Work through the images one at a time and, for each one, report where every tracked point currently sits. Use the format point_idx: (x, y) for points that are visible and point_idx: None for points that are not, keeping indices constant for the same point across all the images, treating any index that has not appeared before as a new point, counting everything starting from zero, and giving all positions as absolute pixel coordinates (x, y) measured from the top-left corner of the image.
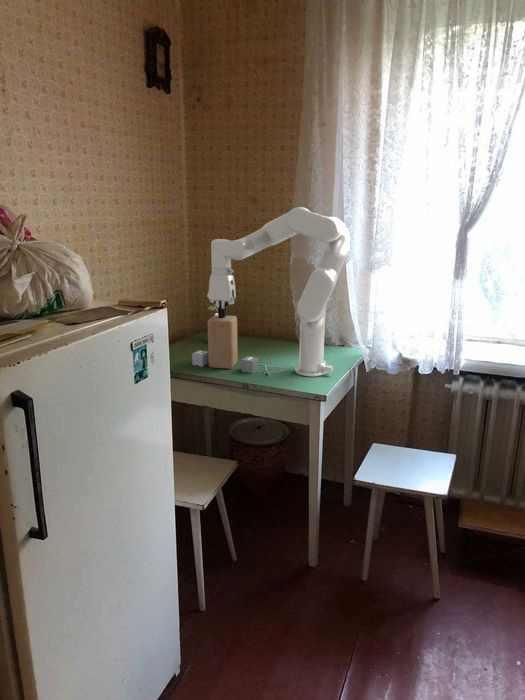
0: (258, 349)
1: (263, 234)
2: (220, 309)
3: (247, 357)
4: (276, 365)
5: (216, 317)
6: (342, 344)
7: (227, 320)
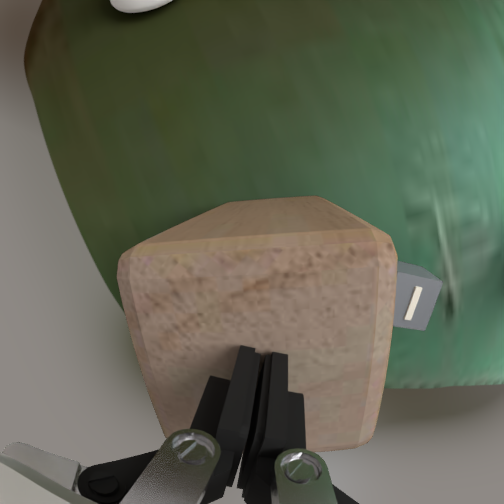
0: (342, 8)
1: None
2: (239, 483)
3: (400, 287)
4: (469, 199)
5: (194, 385)
6: None
7: (340, 446)
